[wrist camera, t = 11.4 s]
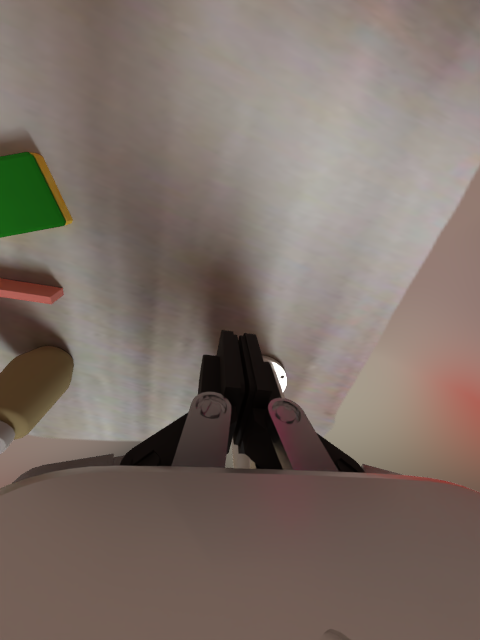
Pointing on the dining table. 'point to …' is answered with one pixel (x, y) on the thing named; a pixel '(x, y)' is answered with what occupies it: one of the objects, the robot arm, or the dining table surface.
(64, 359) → the squeeze bottle
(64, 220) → the dish sponge
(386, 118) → the dining table surface
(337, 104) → the dining table surface
